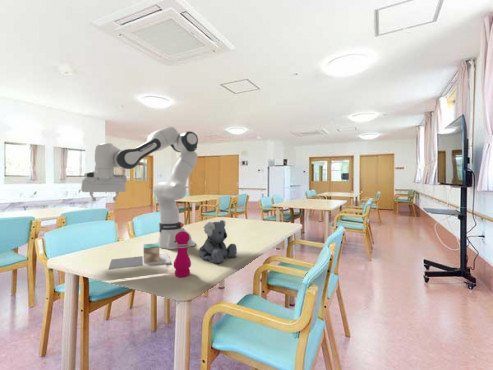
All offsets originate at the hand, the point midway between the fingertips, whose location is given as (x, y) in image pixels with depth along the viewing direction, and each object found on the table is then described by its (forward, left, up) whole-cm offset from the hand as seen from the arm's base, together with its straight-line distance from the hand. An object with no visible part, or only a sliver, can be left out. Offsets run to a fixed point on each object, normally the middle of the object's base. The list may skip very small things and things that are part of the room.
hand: (104, 200), depth 132 cm
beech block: (-22, +19, -21) cm, 36 cm away
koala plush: (-53, +24, -29) cm, 65 cm away
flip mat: (-17, +19, -29) cm, 39 cm away
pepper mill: (-34, +41, -29) cm, 61 cm away
